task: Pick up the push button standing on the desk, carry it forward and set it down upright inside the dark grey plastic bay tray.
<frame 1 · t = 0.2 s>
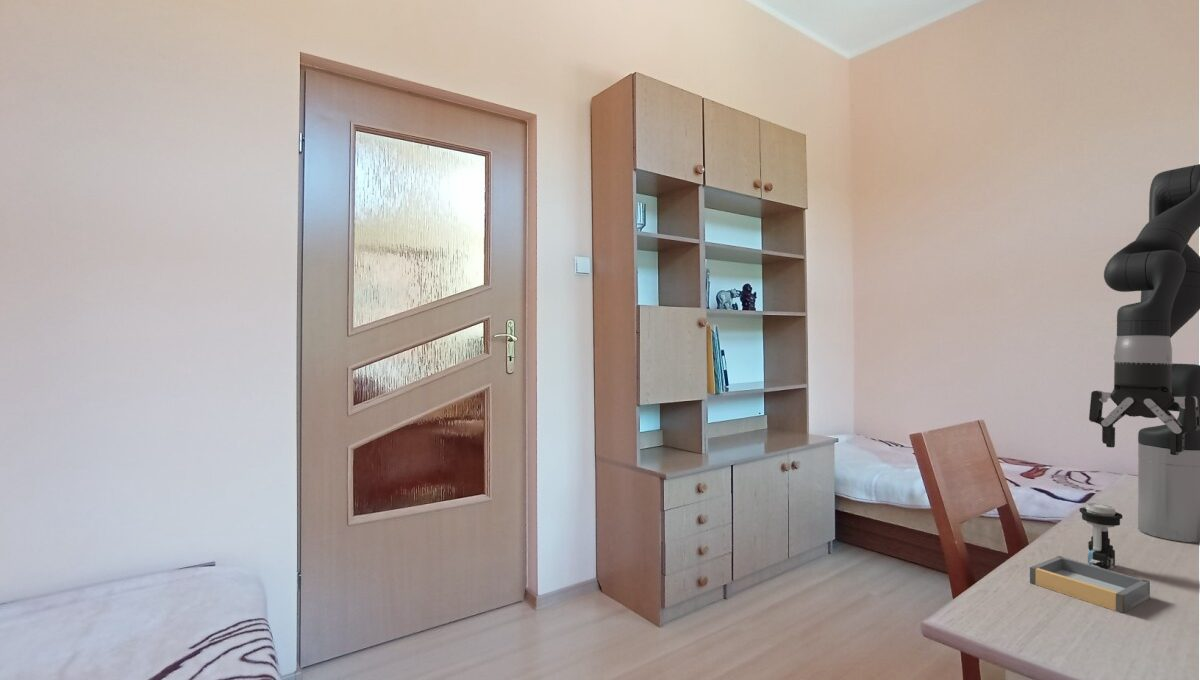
hand: (1141, 450, 101), 18 cm above the table, tool pointing down, fingers open, 8 cm apart
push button: (1099, 568, 92), on the table
bay tray: (1088, 590, 84), on the table
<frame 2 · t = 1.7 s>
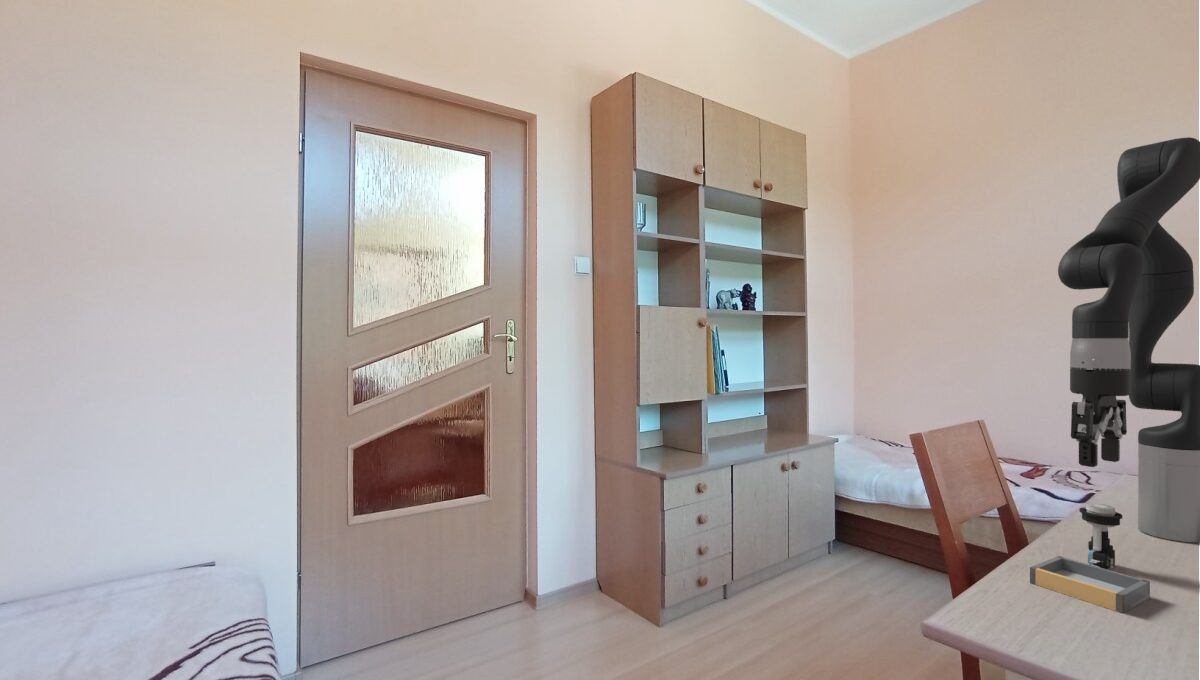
hand: (1099, 463, 92), 17 cm above the table, tool pointing down, fingers open, 8 cm apart
nothing on the table moved.
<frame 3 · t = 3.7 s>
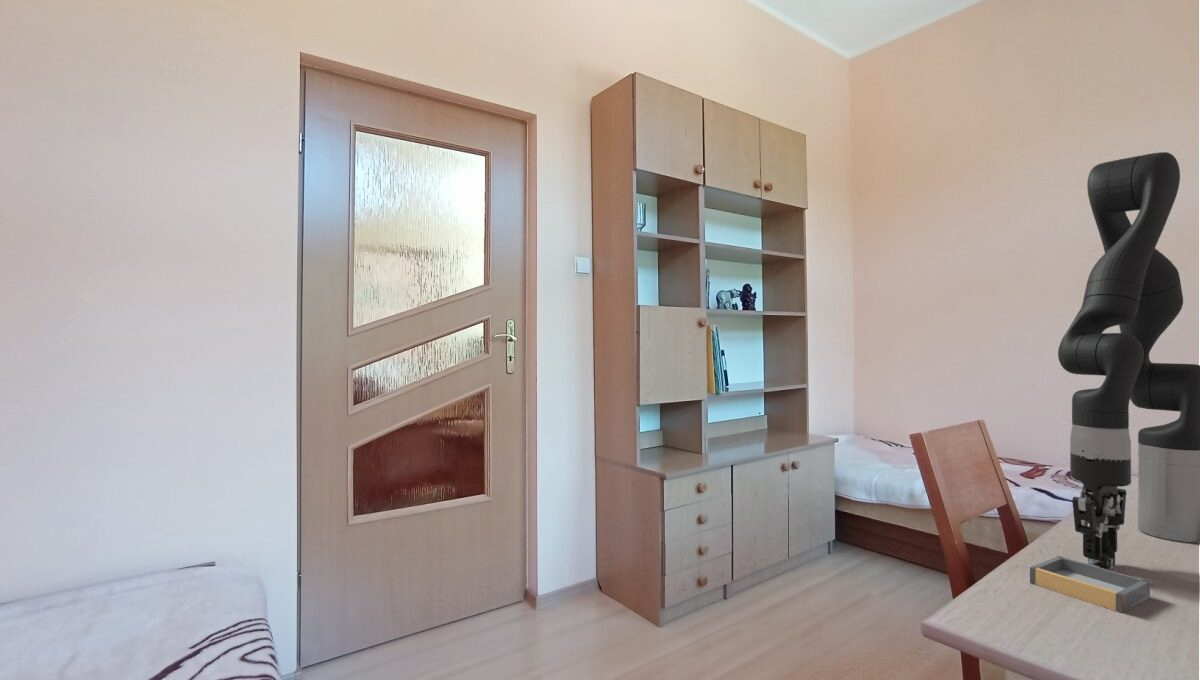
hand: (1100, 554, 92), 2 cm above the table, tool pointing down, fingers closed on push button, 5 cm apart
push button: (1099, 568, 92), on the table, touching gripper
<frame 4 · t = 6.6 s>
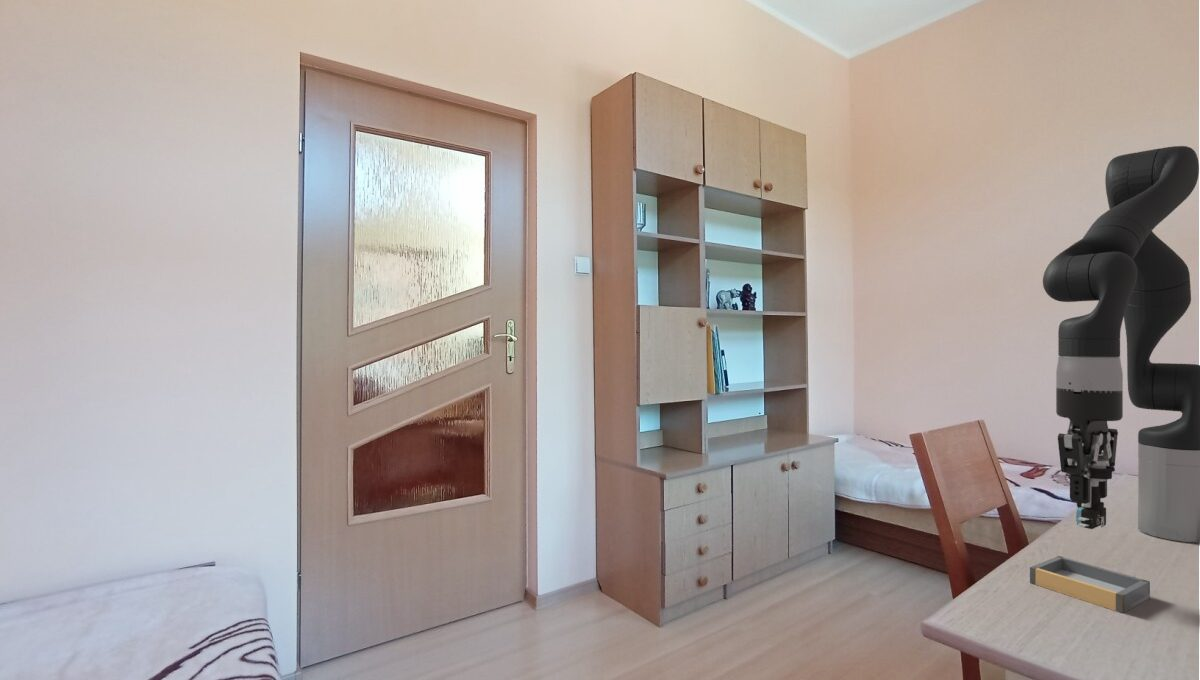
hand: (1088, 499, 84), 14 cm above the table, tool pointing down, fingers closed on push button, 5 cm apart
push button: (1088, 527, 83), point 10 cm above the table, touching gripper
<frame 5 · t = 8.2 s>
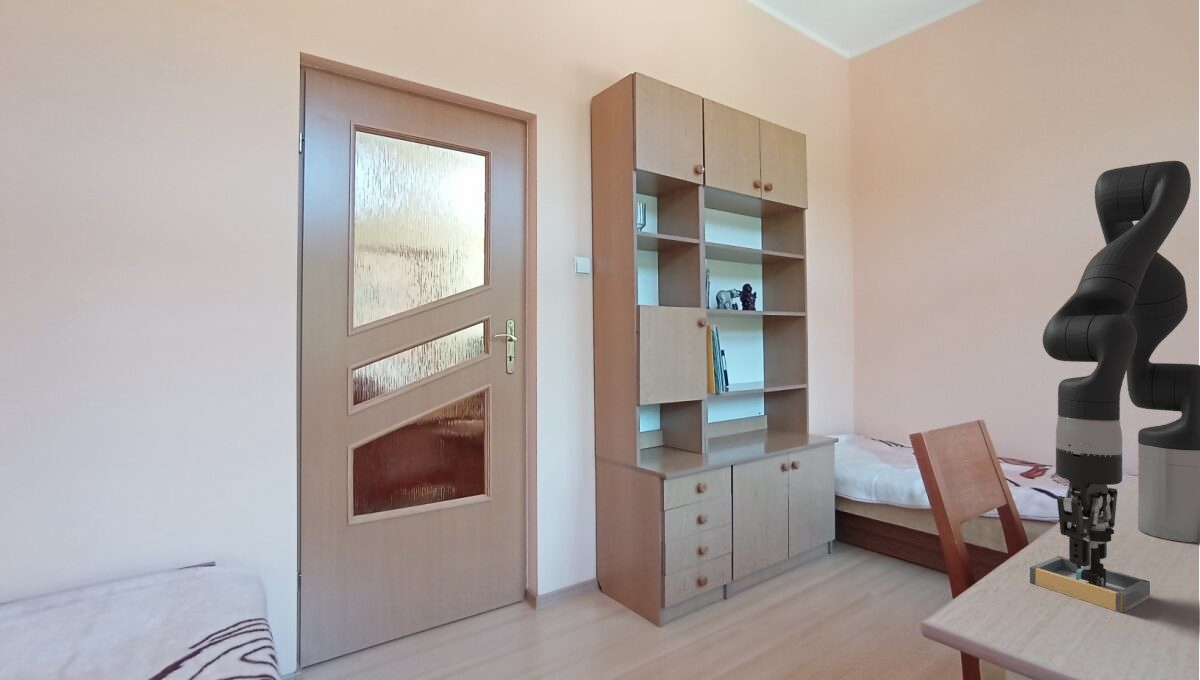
hand: (1088, 560, 84), 4 cm above the table, tool pointing down, fingers closed on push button, 5 cm apart
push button: (1088, 588, 83), resting in bay tray, touching gripper
when the fingers open (4 cm above the table, at t = 8.6 s): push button stays where it is, resting on bay tray.
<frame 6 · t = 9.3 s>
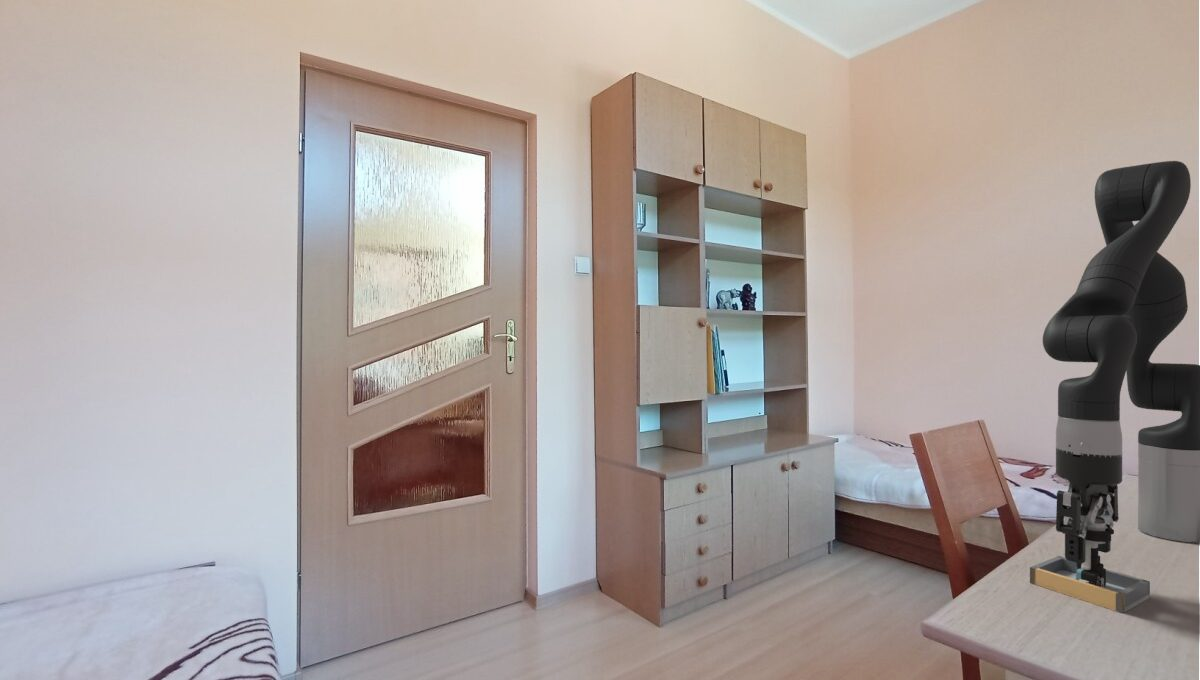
hand: (1088, 556, 84), 5 cm above the table, tool pointing down, fingers open, 8 cm apart
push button: (1088, 588, 83), resting on bay tray
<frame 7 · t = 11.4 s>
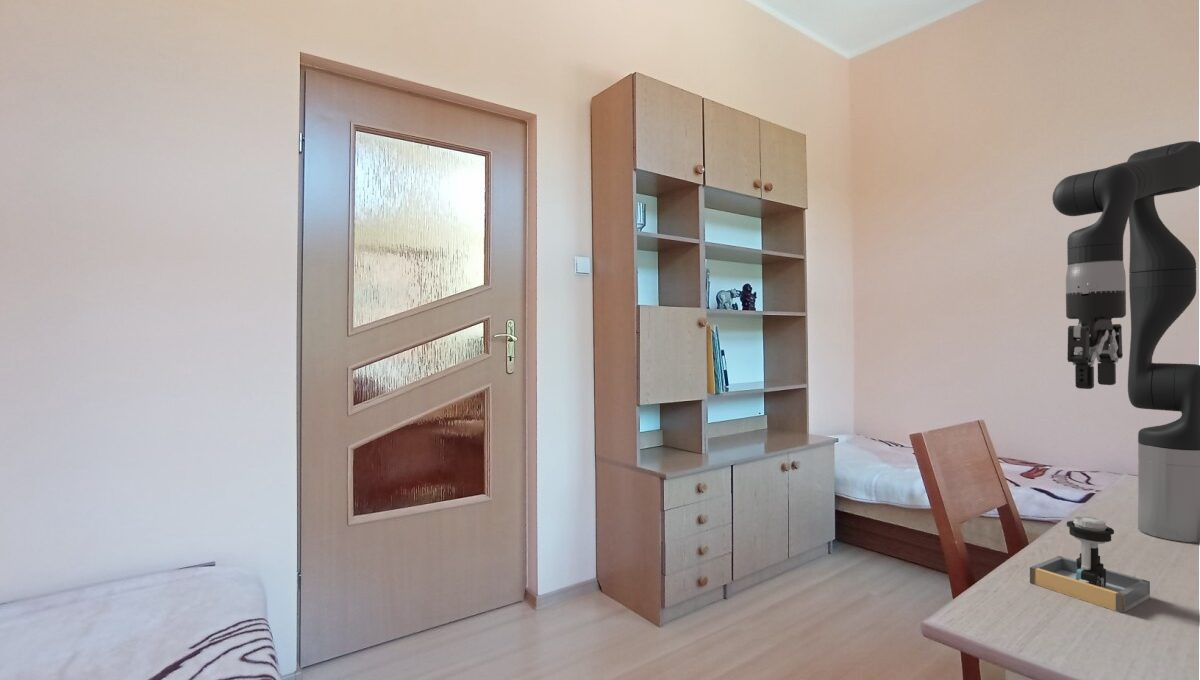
hand: (1095, 386, 94), 30 cm above the table, tool pointing down, fingers open, 8 cm apart
nothing on the table moved.
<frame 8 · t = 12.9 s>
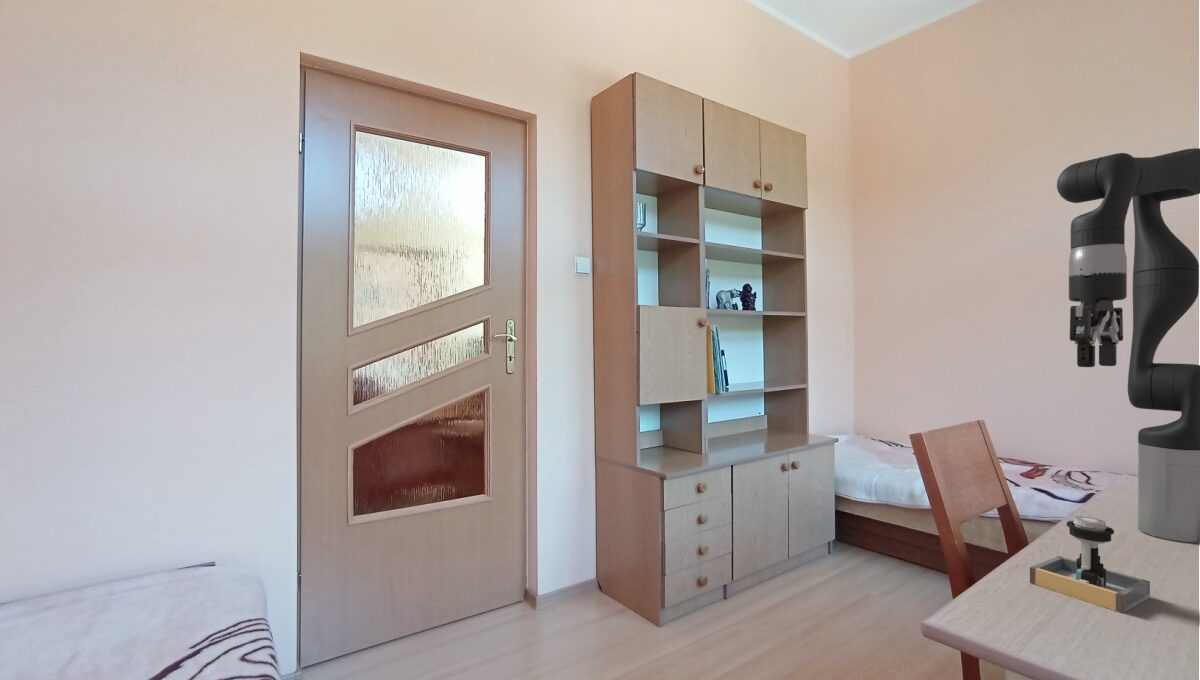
hand: (1097, 366, 97), 33 cm above the table, tool pointing down, fingers open, 8 cm apart
nothing on the table moved.
at the end: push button inside the target area on the bay tray (0.6 cm from its centre), point 0.4 cm above the bay tray's base; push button tilted 0°; the gripper is holding nothing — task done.
